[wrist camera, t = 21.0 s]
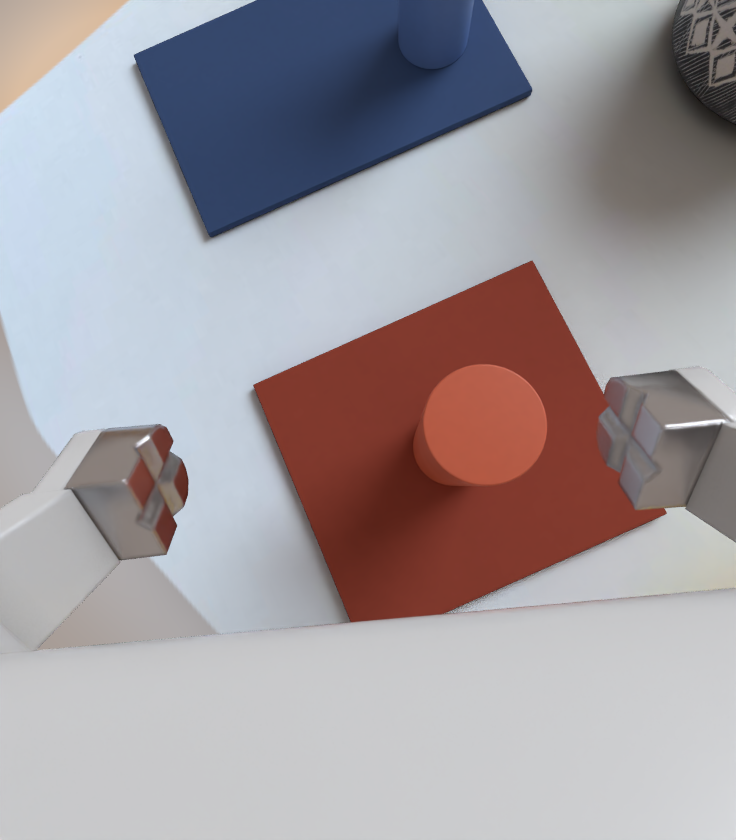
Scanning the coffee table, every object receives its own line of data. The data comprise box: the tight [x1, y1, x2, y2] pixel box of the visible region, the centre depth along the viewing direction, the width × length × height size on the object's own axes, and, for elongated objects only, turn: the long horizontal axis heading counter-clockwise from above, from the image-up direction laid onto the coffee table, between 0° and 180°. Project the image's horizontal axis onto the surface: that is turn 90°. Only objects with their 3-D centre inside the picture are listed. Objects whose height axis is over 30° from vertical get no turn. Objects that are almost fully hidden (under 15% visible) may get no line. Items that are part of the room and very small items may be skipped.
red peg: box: [413, 364, 547, 486], centre depth 22 cm, size 4×4×10 cm
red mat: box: [253, 261, 667, 622], centre depth 27 cm, size 18×16×1 cm
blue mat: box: [134, 0, 532, 237], centre depth 31 cm, size 22×14×1 cm, turn 114°
